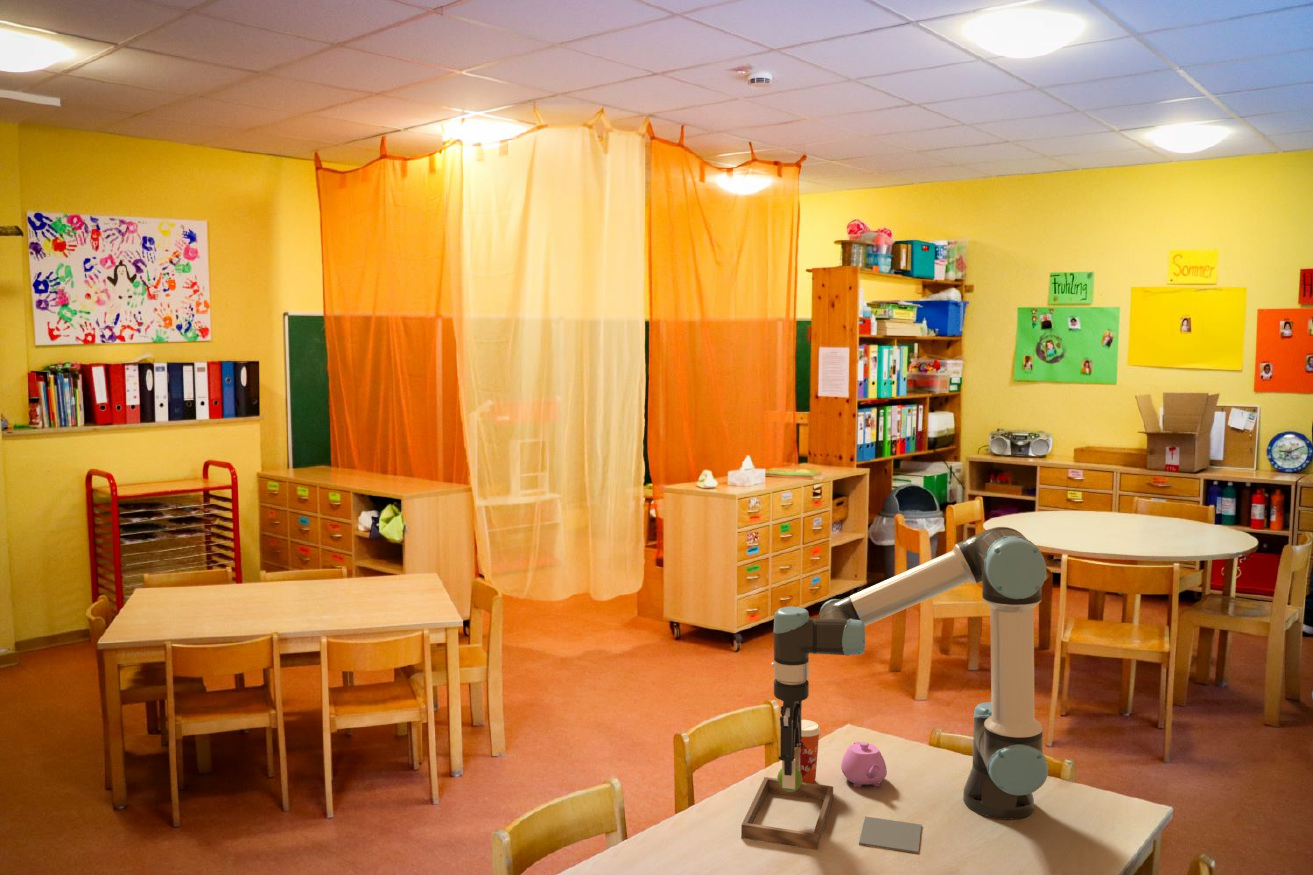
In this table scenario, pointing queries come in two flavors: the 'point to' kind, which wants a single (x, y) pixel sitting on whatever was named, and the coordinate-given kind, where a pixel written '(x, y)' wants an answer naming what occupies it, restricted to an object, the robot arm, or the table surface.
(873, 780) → the pink rounded piece
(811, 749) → the paper cup
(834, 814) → the table surface
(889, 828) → the slate mat
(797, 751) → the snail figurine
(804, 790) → the brown wooden frame
